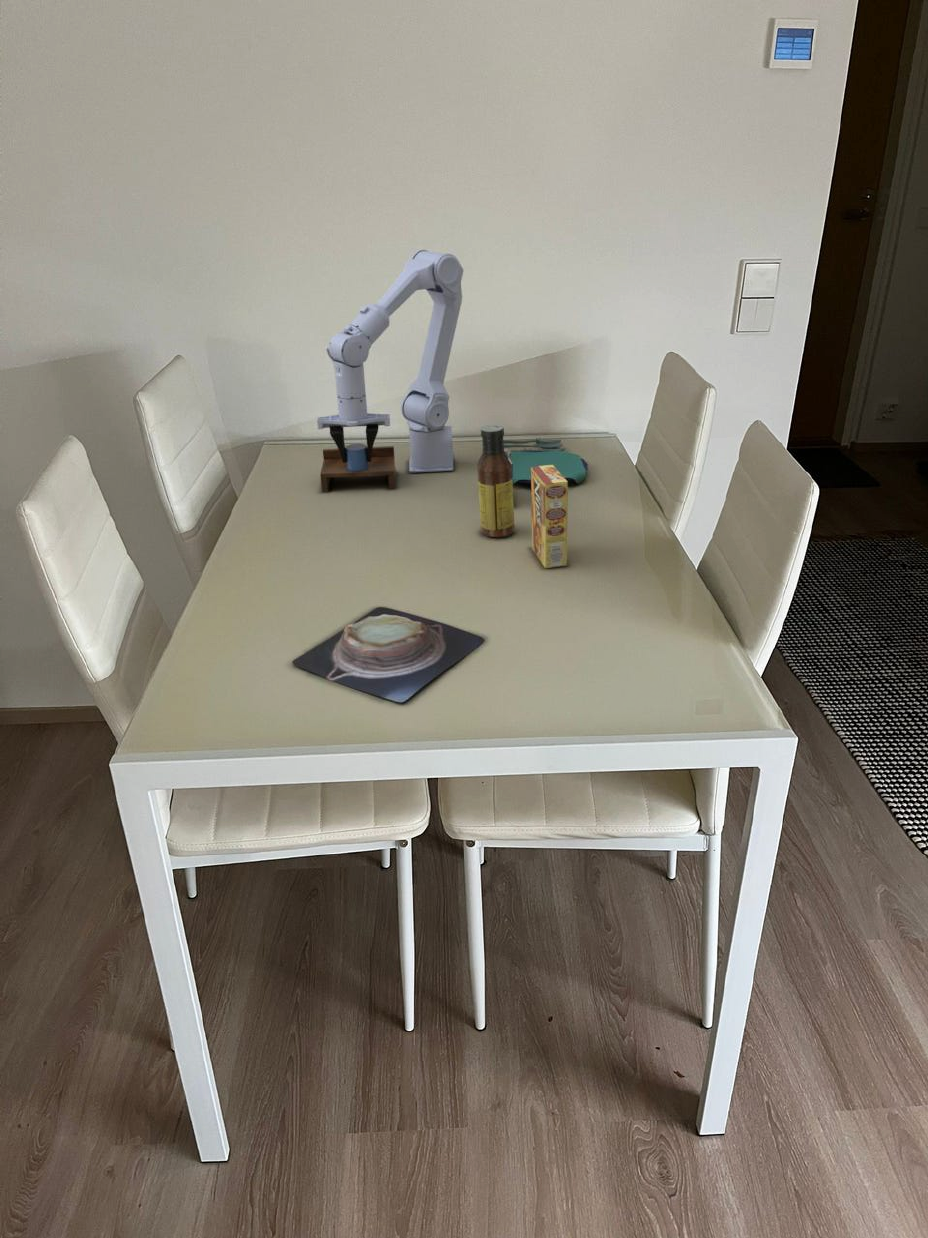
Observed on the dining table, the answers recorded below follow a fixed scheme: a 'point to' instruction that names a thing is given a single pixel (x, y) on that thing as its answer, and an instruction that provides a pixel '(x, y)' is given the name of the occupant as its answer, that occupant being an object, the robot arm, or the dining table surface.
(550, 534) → the candy box
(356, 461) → the blue cup
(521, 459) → the cutlery set
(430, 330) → the robot arm
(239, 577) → the dining table surface
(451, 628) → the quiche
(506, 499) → the sauce bottle
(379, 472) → the shelf
